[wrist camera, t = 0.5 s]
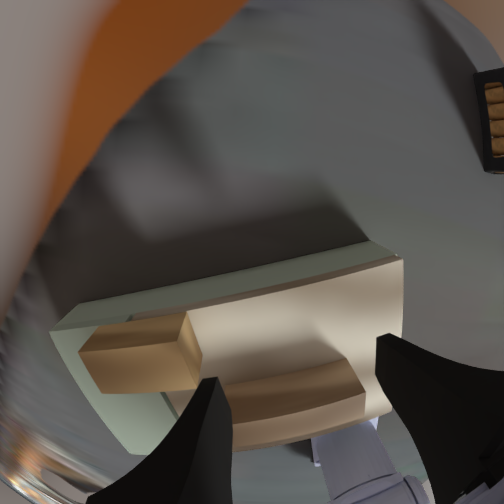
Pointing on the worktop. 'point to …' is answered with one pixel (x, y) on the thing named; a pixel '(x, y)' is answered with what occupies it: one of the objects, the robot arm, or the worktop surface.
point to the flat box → (126, 306)
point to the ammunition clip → (492, 117)
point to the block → (144, 355)
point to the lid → (297, 352)
